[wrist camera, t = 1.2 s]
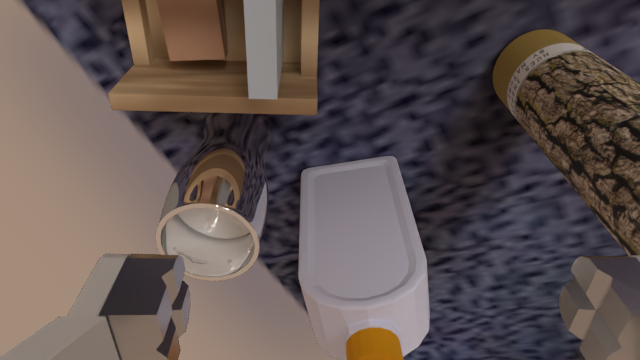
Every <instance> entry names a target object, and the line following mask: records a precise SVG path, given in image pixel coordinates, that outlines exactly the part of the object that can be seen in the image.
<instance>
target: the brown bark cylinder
mask: <svg viewBox="0 0 640 360" xmlns="http://www.w3.org/2000/svg"><path fill="white" fill-rule="evenodd" d="M493 86H494V89H495V92H496V94H497V95H498V97H499V98H500V99H501V101H502V102H503V103H504V104H505V105H506V107H507V108H508V109H509V110H510V111H511V113H512V114H513V116H514V117H515V118H516V119H517V121H518V122H519V123H520V124H521V125H522V127H523V128H524V129H525V130H526V131H527V133H528V134H529V135H530V136H531V138H532V139H533V140H534V141H535V142H536V144H537V145H538V146H539V147H540V148H541V150H542V151H543V152H544V153H545V155H546V156H547V157H548V158H549V159H550V161H551V162H552V163H553V164H554V165H555V167H556V168H557V169H558V170H559V172H560V173H561V174H562V175H563V176H564V178H565V179H566V180H567V181H568V182H569V184H570V185H571V186H572V187H573V189H574V190H575V191H576V192H577V193H578V195H579V196H580V197H581V198H582V199H583V201H584V202H585V203H586V204H587V206H588V207H589V208H590V209H591V210H592V212H593V213H594V214H595V215H596V216H597V218H598V219H599V220H600V221H601V223H602V224H603V225H604V226H605V227H606V229H607V230H608V231H609V232H610V233H611V235H612V236H613V237H614V238H615V240H616V241H617V242H618V243H619V244H620V246H621V247H622V248H623V249H624V251H625V252H626V253H627V254H628V255H629V256H632V255H640V83H638V82H637V81H635V80H634V79H632V78H630V77H629V76H627V75H626V74H624V73H623V72H621V71H620V70H618V69H617V68H615V67H614V66H612V65H611V64H609V63H608V62H606V61H604V60H603V59H601V58H600V57H598V56H597V55H595V54H594V53H592V52H591V51H589V50H588V49H586V48H584V47H582V46H581V45H579V44H578V43H576V42H575V41H573V40H572V39H570V38H569V37H567V36H566V35H564V34H562V33H560V32H557V31H554V30H548V29H541V30H535V31H531V32H528V33H525V34H523V35H521V36H519V37H518V38H516V39H515V40H513V41H512V42H511V43H510V44H509V45H508V46H507V47H506V48H505V49H504V50H503V51H502V53H501V54H500V56H499V57H498V59H497V61H496V63H495V66H494V70H493Z"/></svg>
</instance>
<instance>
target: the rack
mask: <svg viewBox="0 0 640 360" xmlns="http://www.w3.org/2000/svg"><path fill="white" fill-rule="evenodd" d="M224 4H225V17H226V31H227V46H228V54H227V56H226V58H225V59H215V60H189V61H170V58H169V54H168V49H167V45H166V40H165V36H164V31H163V27H162V22H161V17H160V13H159V8H158V4H157V0H122V5H123V10H124V16H125V21H126V26H127V31H128V36H129V41H130V47H131V52H132V57H133V62H134V65H133V66H132V67H131V68H130V70H129V71H128V72H127V73H126V74H125V75H124V76H123V77H122V79H121V80H120V81H119V82H118V83H117V84H116V85H115V86H114V88H113V89H112V90H111V91H110V92H109V93H108V95H109V100H110V104H111V108H112V110H131V111H171V112H210V113H250V114H289V115H317V102H318V96H317V58H318V29H319V0H284V55H283V62H282V69H281V77H280V84H279V91H278V98H277V99H249V95H248V76H247V57H246V38H245V19H244V0H224Z"/></svg>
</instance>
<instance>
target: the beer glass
mask: <svg viewBox="0 0 640 360" xmlns="http://www.w3.org/2000/svg"><path fill="white" fill-rule="evenodd" d="M271 138H272V133H271V128H270V125H269V122H268V121H267V119H266V118H265V116H264V115H263V114H250V113H210V114H209V115H208V116H207V118H206V120H205V123H204V126H203V141H202V143H201V144H200V145H199V146H198V148H197V149H196V150H195V151H194V152H193V153H192V155H191V156H190V157H189V158H188V159H187V161H186V162H185V163H184V165H183V166H182V168H181V169H180V170H179V172H178V173H177V175H176V177H175V179H174V181H173V183H172V185H171V187H170V190H169V193H168V196H167V198H166V201H165V204H164V208H163V211H162V215H161V218H160V222H159V224H158V226H157V230H156V234H155V241H156V246H157V249H158V251H159V253H160V255H180V256H182V257H183V260H184V265H185V269H186V270H185V273H184V275H186V276H189V277H192V278H195V279H199V280H205V281H221V280H227V279H231V278H234V277H237V276H239V275H241V274H243V273H244V272H246V271H247V270H248V269H249V268H251V267H252V265H253V264H254V263H255V261H256V259H257V257H258V254H259V250H260V244H261V240H262V236H263V232H264V228H265V223H266V218H267V212H268V198H269V195H268V182H267V176H266V170H265V165H264V156H265V154H266V152H267V151H268V148H269V146H270V143H271Z"/></svg>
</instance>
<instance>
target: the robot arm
mask: <svg viewBox="0 0 640 360" xmlns="http://www.w3.org/2000/svg"><path fill="white" fill-rule="evenodd" d="M185 270H186V269H185V265H184V260H183V257H182V256H180V255H157V254H156V255H155V254H105V255H103V256H102V257H101V258H100V259H99V260H98V262H97V263H96V265H95V267H94V269H93V271H92V272H91V274H90V276H89V278H88V280H87V281H86V283H85V285H84V287H83V288H82V290H81V292H80V294H79V296H78V297H77V299H76V301H75V303H74V305H73V306H72V308H71V310H70V312H69V314H68V315H67V317H57V318H56V319H55V320H53V321H52V322H50V323H49V324H47V325H46V326H44V327H43V328H41V329H40V330H39V331H37V332H36V333H34V334H33V335H31V336H30V337H28V338H27V339H25V340H24V341H22V342H21V343H20V344H18V345H17V346H15V347H14V348H12V349H11V350H9V351H8V352H6V353H5V354H3V355H2V356H0V360H178V357H179V354H180V345H179V340H178V338H179V337H180V336H181V335H182V334H183V333H185V332H186V328H187V324H188V320H189V312H190V292H189V286H188V285H187V284H186V283H185V282H184V281H183V276H184V273H185ZM571 272H572V274H573V276H574V279H572V280H571V281H570V282H568V283H567V284H566V285H564V287H563V290H562V292H561V295H560V312H561V315H562V319H563V321H564V323H565V325H566V327H567V328H568V330H569V331H570V332H572V333H573V334H574V335H576V336H577V337H579V338H580V339H581V344H580V351H581V352H582V354H583V356H584V357H585V359H586V360H640V255H632V256H580V257H579V258H578V259H577V260H575V261H574V264H573V266H572V268H571Z"/></svg>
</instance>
